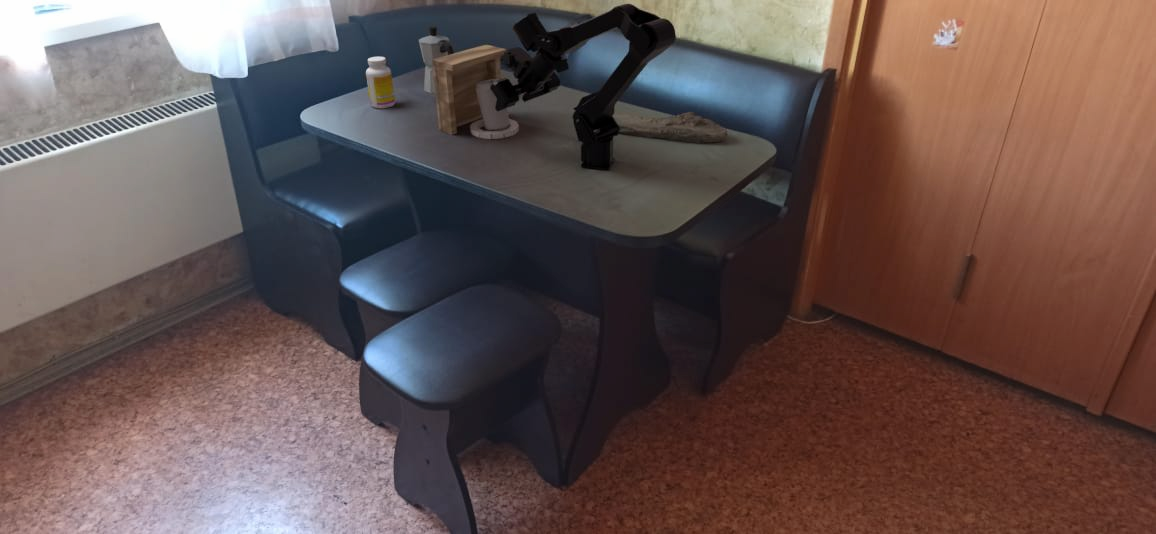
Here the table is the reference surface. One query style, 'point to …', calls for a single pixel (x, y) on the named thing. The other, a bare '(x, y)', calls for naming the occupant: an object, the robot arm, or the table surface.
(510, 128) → the socket ring
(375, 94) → the supplement bottle
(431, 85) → the coffee maker
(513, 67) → the robot arm
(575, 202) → the table surface
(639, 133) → the elongated rock
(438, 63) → the wooden tray
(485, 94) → the beverage can
